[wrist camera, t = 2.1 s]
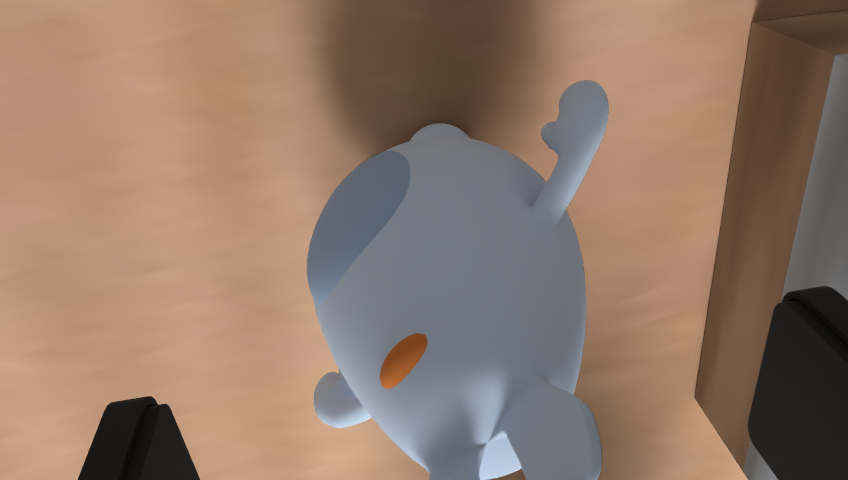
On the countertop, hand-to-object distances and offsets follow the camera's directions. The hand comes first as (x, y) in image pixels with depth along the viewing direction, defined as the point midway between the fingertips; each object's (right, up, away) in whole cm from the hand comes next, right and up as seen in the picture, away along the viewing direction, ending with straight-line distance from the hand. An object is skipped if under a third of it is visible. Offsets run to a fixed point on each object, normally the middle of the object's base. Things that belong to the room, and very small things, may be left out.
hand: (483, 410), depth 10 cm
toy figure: (-1, +4, +9) cm, 10 cm away
